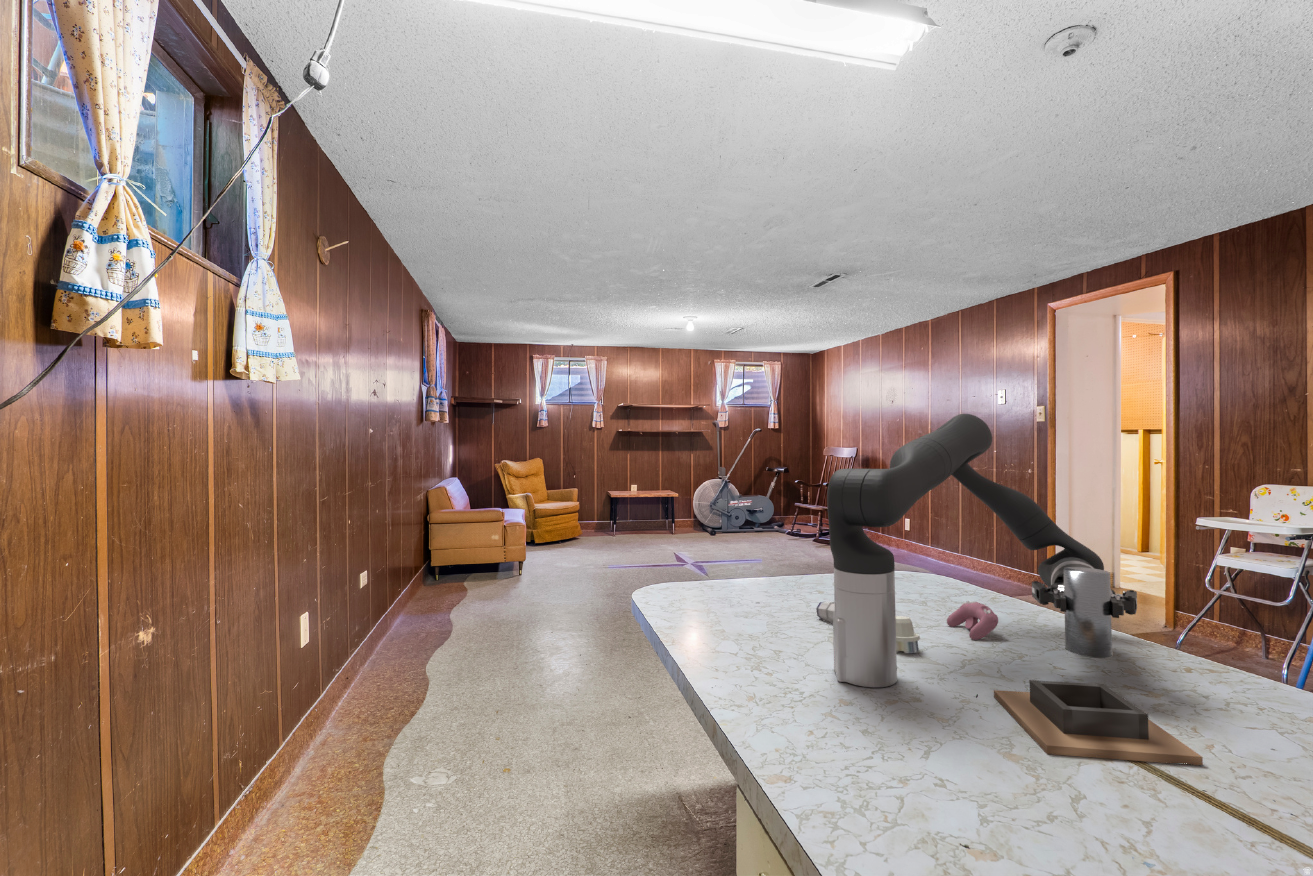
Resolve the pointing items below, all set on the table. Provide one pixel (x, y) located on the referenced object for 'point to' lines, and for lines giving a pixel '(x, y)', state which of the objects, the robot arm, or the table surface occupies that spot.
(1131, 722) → the wooden board with frame
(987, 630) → the video game controller
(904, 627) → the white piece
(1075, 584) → the grey metal cylinder
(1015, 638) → the table surface
